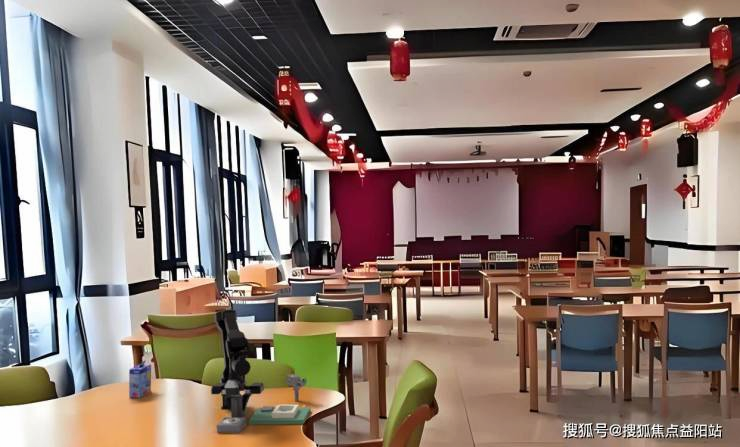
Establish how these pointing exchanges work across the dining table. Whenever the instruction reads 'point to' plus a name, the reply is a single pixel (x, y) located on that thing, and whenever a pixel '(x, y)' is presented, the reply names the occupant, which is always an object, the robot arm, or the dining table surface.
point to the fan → (231, 425)
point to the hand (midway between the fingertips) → (238, 411)
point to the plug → (237, 406)
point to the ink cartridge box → (140, 380)
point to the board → (280, 415)
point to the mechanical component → (296, 383)
